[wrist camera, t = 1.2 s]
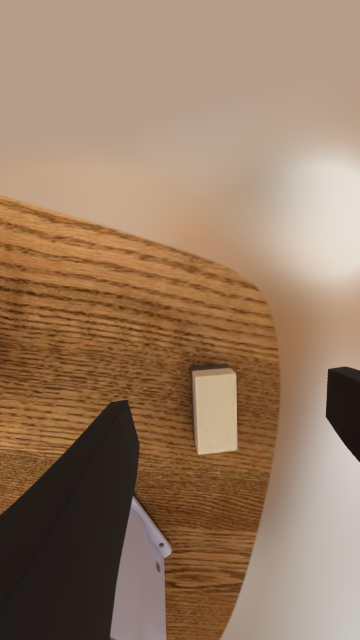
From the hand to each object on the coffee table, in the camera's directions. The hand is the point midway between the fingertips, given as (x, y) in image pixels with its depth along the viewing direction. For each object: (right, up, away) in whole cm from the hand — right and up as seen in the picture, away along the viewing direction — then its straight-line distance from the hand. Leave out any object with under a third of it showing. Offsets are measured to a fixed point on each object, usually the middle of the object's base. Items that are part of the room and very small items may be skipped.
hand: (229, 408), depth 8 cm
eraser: (+1, -5, +13) cm, 14 cm away
